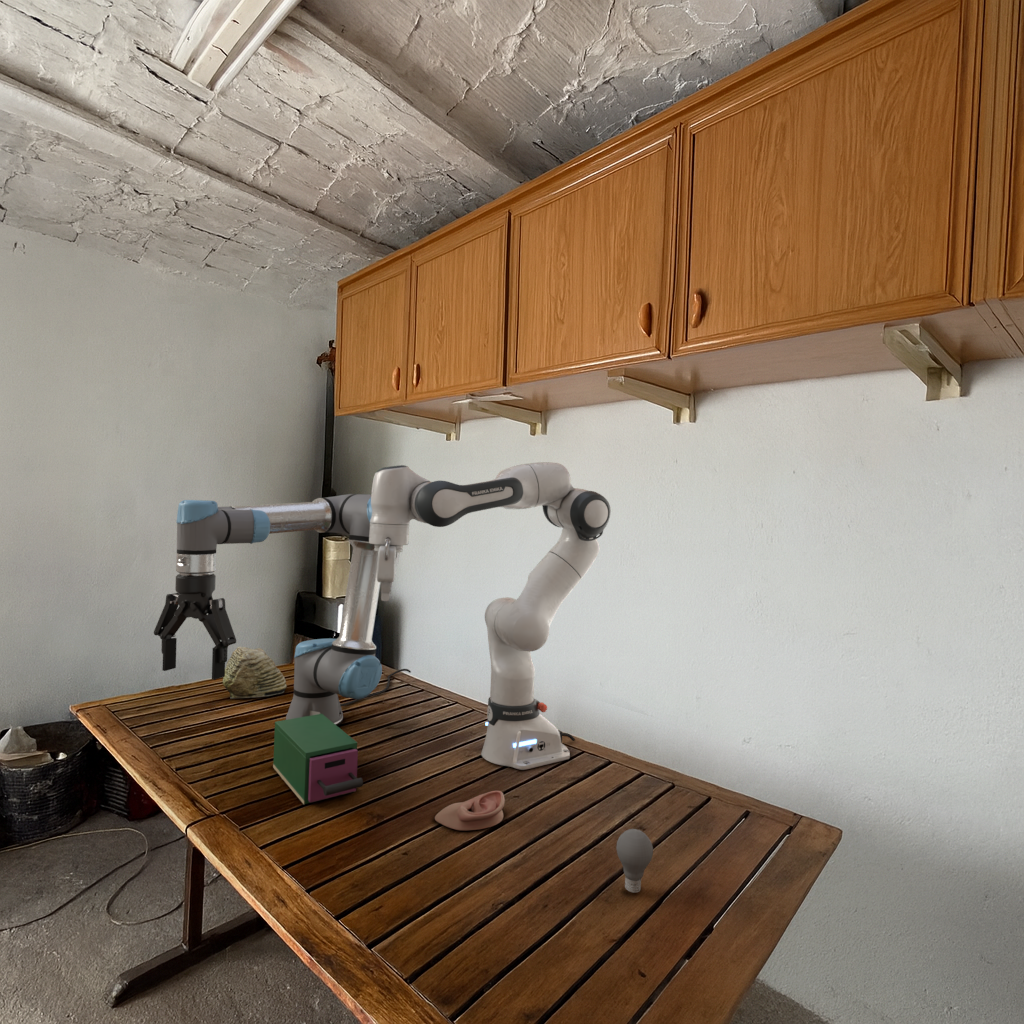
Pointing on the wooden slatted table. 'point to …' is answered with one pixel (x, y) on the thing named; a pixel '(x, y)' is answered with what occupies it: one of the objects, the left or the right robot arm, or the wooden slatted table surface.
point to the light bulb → (634, 857)
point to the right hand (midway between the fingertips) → (386, 597)
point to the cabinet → (305, 748)
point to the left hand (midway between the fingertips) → (193, 673)
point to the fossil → (252, 674)
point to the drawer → (333, 774)
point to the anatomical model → (474, 812)
